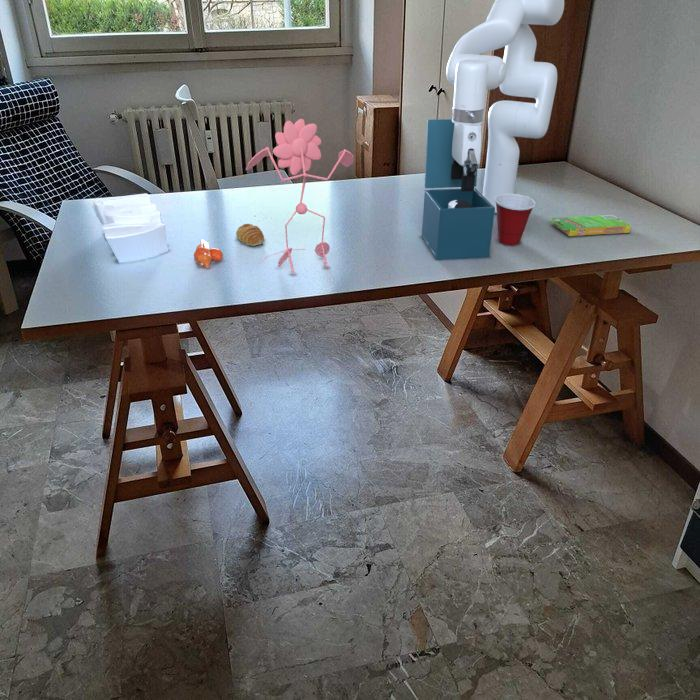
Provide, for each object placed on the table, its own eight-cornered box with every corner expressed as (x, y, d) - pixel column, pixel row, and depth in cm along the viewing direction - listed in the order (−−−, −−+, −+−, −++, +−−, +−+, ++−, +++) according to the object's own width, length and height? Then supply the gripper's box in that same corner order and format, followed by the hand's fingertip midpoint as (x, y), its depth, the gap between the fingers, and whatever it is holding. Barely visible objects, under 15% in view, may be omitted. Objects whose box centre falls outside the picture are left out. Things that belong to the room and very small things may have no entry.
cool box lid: (481, 118, 172) (474, 116, 177) (428, 119, 170) (423, 117, 175) (476, 186, 179) (470, 182, 184) (425, 188, 177) (420, 184, 182)
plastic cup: (506, 252, 175) (512, 208, 169) (481, 238, 183) (486, 196, 177) (538, 245, 179) (545, 202, 173) (512, 232, 188) (518, 191, 182)
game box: (628, 235, 188) (562, 236, 184) (611, 224, 197) (547, 225, 193) (631, 225, 187) (564, 226, 183) (613, 214, 195) (549, 214, 191)
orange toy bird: (193, 233, 169) (197, 250, 159) (222, 239, 172) (227, 257, 162) (189, 251, 171) (192, 269, 161) (217, 257, 174) (222, 275, 164)
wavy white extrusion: (173, 263, 167) (168, 222, 162) (105, 272, 161) (97, 231, 156) (154, 219, 195) (149, 183, 189) (95, 226, 189) (88, 189, 184)
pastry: (270, 244, 178) (269, 231, 176) (247, 249, 175) (246, 236, 173) (256, 233, 185) (255, 220, 183) (233, 238, 182) (232, 225, 180)
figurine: (358, 263, 168) (361, 120, 150) (263, 282, 157) (253, 130, 140) (331, 243, 180) (331, 108, 162) (241, 259, 169) (230, 117, 151)
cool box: (489, 257, 172) (495, 207, 165) (436, 259, 170) (440, 209, 164) (470, 234, 186) (475, 188, 179) (421, 236, 184) (424, 189, 178)
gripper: (494, 123, 153) (486, 195, 162) (472, 107, 168) (466, 174, 177) (462, 124, 152) (456, 196, 162) (443, 108, 167) (439, 175, 176)
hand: (461, 184), depth 169 cm, fingers open, 9 cm apart
